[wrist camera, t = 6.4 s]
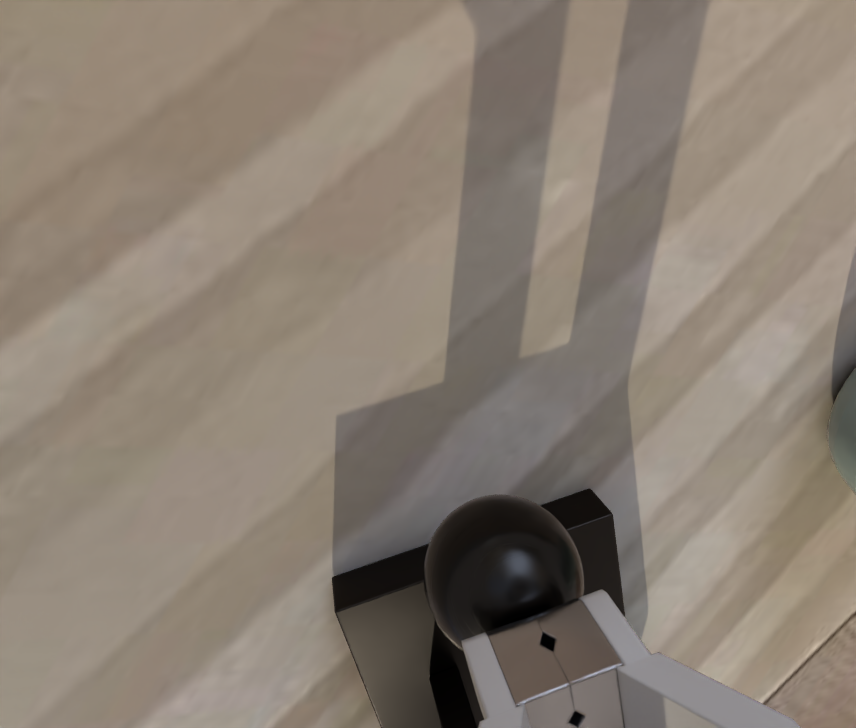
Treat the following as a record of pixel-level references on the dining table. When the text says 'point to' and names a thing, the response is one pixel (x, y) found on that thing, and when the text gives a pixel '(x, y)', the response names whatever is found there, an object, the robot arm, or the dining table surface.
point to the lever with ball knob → (498, 566)
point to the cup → (844, 431)
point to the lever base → (421, 636)
